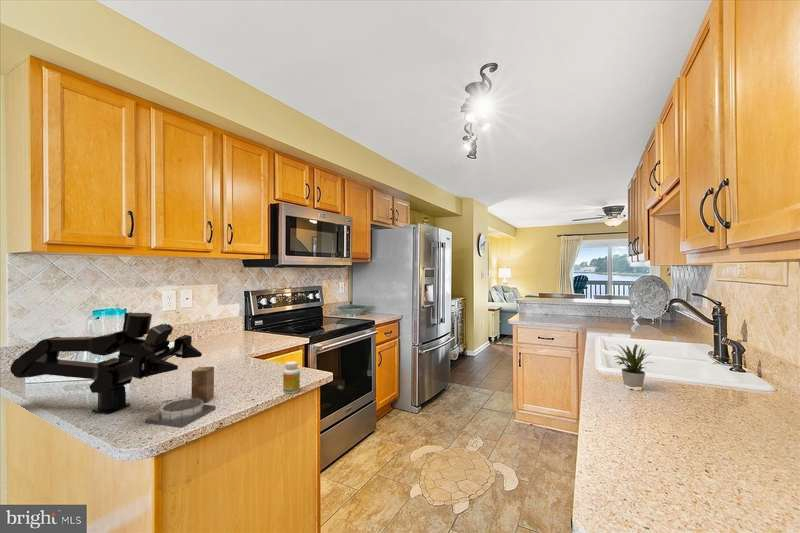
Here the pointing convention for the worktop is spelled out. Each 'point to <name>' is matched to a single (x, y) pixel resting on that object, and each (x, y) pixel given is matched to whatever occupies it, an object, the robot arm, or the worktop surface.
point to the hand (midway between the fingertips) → (189, 361)
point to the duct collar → (180, 412)
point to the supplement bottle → (291, 378)
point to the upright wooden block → (203, 383)
